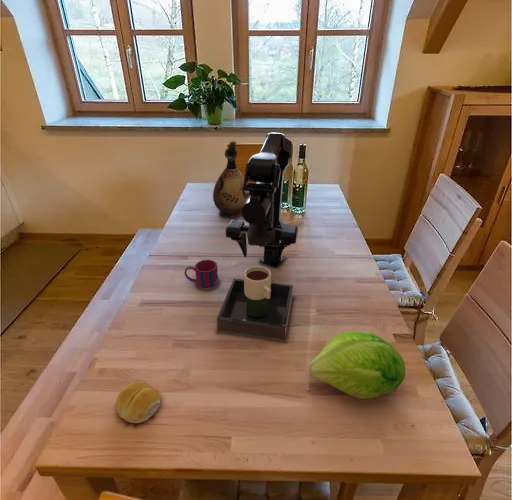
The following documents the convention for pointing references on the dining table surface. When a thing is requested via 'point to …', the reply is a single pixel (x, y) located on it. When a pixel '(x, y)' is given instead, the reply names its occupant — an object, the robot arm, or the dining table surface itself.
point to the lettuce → (359, 365)
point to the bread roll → (137, 402)
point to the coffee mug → (257, 290)
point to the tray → (265, 326)
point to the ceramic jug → (230, 187)
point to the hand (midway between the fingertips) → (261, 258)
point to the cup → (205, 273)
